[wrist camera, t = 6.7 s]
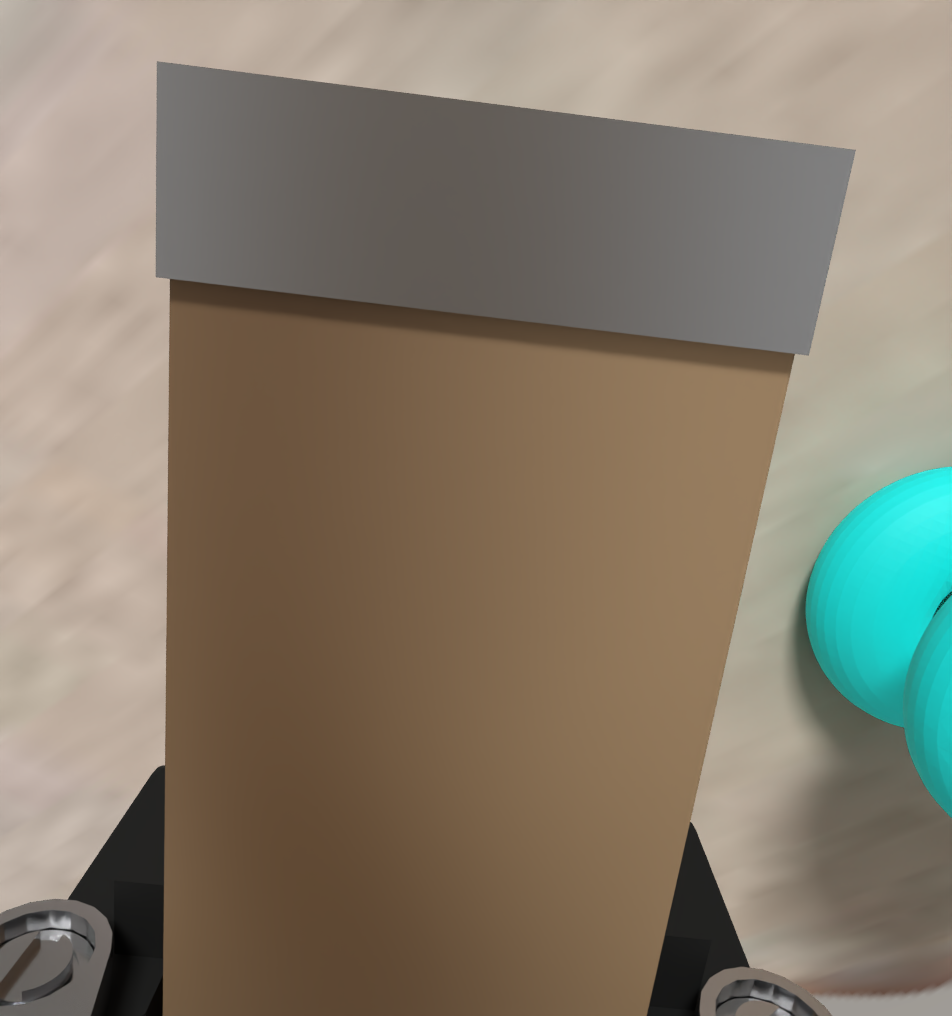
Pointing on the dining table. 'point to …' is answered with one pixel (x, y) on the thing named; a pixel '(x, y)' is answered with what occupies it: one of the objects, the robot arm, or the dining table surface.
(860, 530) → the donuts
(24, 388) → the dining table surface
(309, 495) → the brown rectangular bar
